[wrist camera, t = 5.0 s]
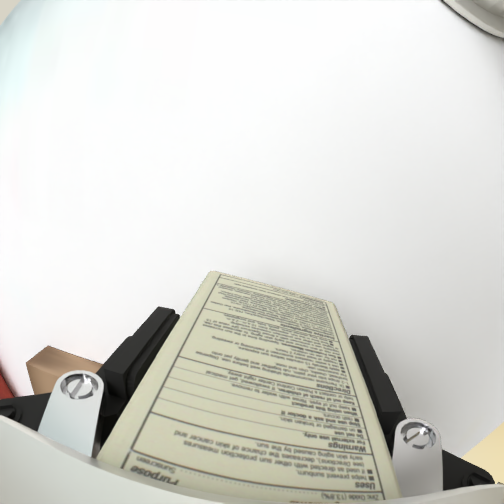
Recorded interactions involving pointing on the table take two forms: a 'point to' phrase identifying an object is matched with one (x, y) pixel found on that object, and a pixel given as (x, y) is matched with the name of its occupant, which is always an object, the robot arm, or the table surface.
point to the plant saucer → (4, 389)
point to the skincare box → (256, 403)
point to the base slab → (55, 368)
